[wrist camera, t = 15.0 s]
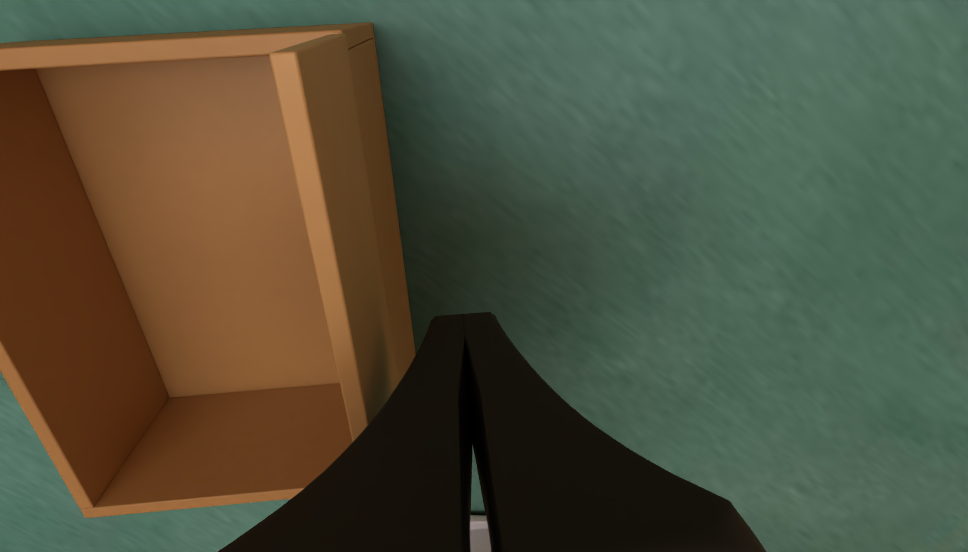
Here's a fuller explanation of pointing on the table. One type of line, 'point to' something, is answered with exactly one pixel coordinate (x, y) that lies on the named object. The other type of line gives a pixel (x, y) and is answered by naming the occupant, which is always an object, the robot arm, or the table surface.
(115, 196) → the carton
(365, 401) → the flap
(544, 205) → the table surface
